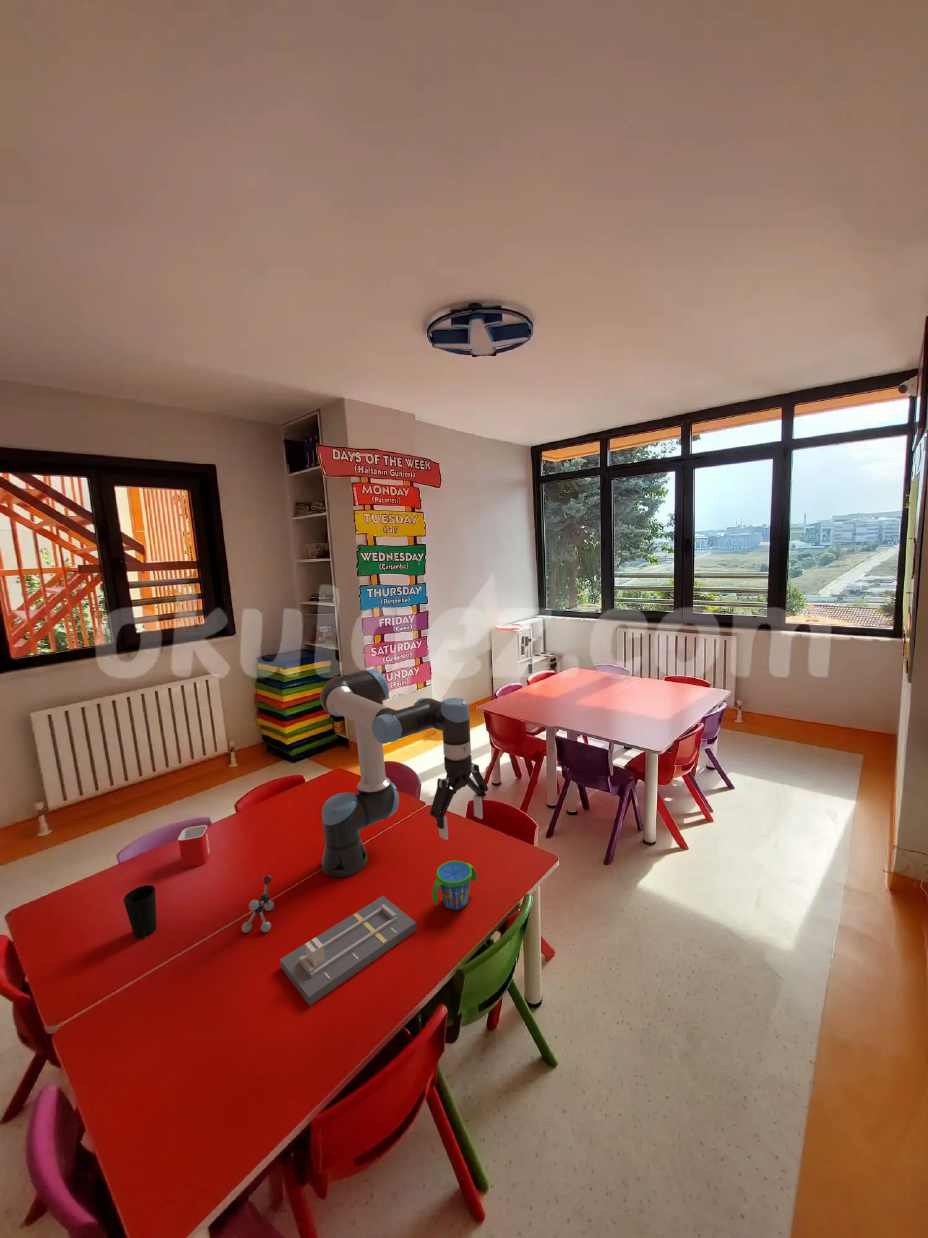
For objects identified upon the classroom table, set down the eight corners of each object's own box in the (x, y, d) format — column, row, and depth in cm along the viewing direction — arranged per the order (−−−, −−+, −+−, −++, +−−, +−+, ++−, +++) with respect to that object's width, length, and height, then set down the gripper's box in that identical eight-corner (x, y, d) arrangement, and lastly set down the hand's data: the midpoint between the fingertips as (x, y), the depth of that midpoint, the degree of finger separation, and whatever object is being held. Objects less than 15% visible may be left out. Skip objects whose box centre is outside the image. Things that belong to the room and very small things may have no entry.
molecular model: (240, 935, 141) (236, 901, 140) (259, 905, 153) (255, 873, 152) (269, 934, 141) (264, 900, 139) (285, 904, 153) (281, 872, 151)
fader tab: (306, 961, 128) (304, 943, 127) (317, 954, 130) (315, 936, 129) (314, 970, 125) (312, 952, 124) (325, 963, 127) (323, 945, 126)
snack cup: (467, 882, 158) (465, 852, 157) (487, 900, 149) (485, 869, 148) (424, 903, 150) (422, 872, 148) (442, 924, 141) (440, 891, 140)
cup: (167, 924, 147) (161, 887, 145) (143, 944, 140) (136, 905, 138) (147, 919, 149) (142, 883, 148) (123, 939, 142) (116, 900, 141)
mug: (206, 865, 175) (202, 836, 173) (180, 869, 173) (176, 841, 172) (214, 845, 186) (211, 819, 185) (190, 849, 185) (187, 823, 183)
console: (280, 967, 129) (279, 953, 129) (383, 903, 151) (382, 891, 150) (309, 1006, 118) (308, 991, 117) (416, 930, 139) (415, 917, 139)
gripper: (432, 775, 126) (437, 852, 129) (498, 744, 143) (501, 813, 146) (413, 766, 131) (418, 841, 134) (479, 738, 148) (482, 805, 151)
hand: (461, 827), depth 140 cm, fingers open, 13 cm apart
